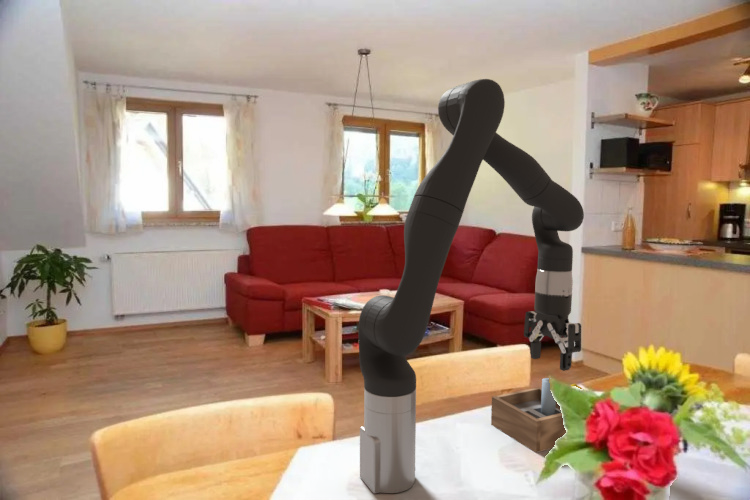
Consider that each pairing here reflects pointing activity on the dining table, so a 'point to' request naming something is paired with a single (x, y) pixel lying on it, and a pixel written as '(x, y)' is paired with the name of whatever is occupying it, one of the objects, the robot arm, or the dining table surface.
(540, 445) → the crate
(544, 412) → the dowel
